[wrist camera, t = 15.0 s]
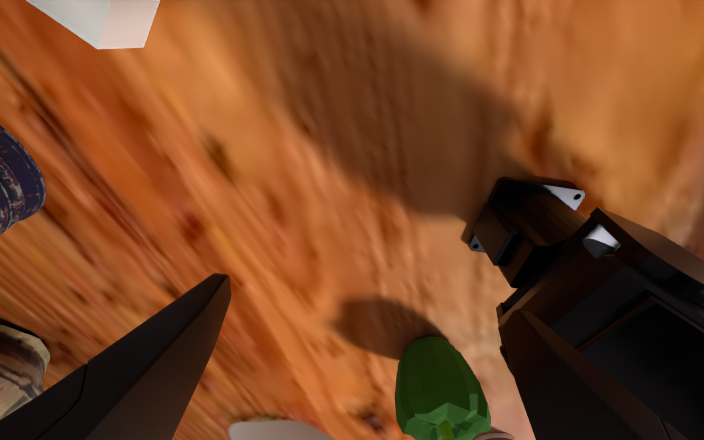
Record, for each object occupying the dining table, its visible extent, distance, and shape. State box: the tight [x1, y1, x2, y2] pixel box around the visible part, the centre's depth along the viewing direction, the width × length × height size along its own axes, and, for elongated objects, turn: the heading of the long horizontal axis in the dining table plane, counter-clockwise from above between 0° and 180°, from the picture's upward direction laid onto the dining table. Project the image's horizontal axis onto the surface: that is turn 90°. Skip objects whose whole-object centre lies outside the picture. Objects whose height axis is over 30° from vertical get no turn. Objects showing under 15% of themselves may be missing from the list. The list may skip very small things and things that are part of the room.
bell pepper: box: [395, 336, 491, 440], centre depth 28 cm, size 8×8×10 cm
